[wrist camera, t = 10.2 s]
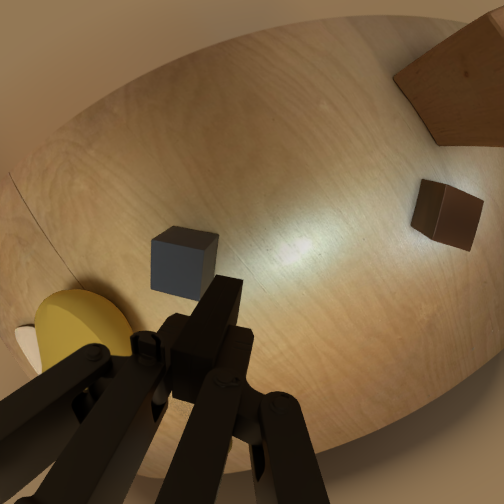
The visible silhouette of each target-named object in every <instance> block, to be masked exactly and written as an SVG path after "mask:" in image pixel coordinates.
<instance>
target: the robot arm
mask: <svg viewBox="0 0 504 504" xmlns="http://www.w3.org/2000/svg"><path fill="white" fill-rule="evenodd" d="M242 286H243V280H242V279H237V278H231V277H226V276H221V275H216V276H215V277H214V279H213V280H212V282H211V283H210V285H209V287H208V288H207V290H206V291H205V293H204V295H203V296H202V298H201V299H200V301H199V303H198V304H197V306H196V307H195V309H194V311H193V312H192V314H191V316H187V315H183V314H179V313H175V314H173V315H171V316H169V317H168V318H167V319H166V320H165V322H164V323H163V325H162V326H161V327H160V329H159V330H158V331H157V333H156V332H153V331H139V332H136V333H134V334H132V335H131V336H130V343H131V351H132V354H131V356H117V355H111V353H110V350H109V349H108V348H107V347H106V346H105V345H103V344H100V343H90V344H87V345H85V346H83V347H81V348H80V349H78V350H77V351H75V352H73V353H72V354H70V355H69V356H67V357H66V358H64V359H63V360H61V361H60V362H58V363H57V364H55V365H54V366H52V367H51V368H49V369H48V370H46V371H45V372H43V373H42V374H40V375H39V376H37V377H36V378H34V379H33V380H31V381H30V382H28V383H27V384H25V385H24V386H22V387H21V388H19V389H18V390H16V391H15V392H13V393H12V394H10V395H9V396H7V397H6V398H4V399H3V400H1V401H0V504H3V503H4V502H6V501H7V500H9V499H10V498H11V497H13V496H14V495H15V494H16V493H17V492H19V491H20V490H21V489H22V488H23V487H25V486H26V485H27V484H28V483H30V482H31V481H32V480H33V479H34V478H36V477H37V476H38V475H39V474H40V473H42V472H43V471H44V470H45V469H46V468H47V467H48V466H50V465H51V464H52V463H53V462H54V461H56V462H55V463H54V465H53V466H52V468H51V469H50V471H49V472H48V474H47V475H46V477H45V479H44V480H43V482H42V483H41V485H40V486H39V488H38V489H37V491H36V492H35V494H34V495H32V496H29V497H22V498H20V499H18V500H17V501H16V502H15V503H14V504H123V502H124V499H125V497H126V495H127V493H128V491H129V488H130V486H131V484H132V482H133V480H134V478H135V476H136V474H137V471H138V469H139V467H140V465H141V463H142V461H143V459H144V456H145V454H146V452H147V450H148V448H149V446H150V444H151V442H152V439H153V437H154V435H155V433H156V431H157V429H158V427H159V425H160V423H161V420H162V418H163V416H164V414H165V412H166V410H167V408H168V397H169V395H170V393H171V391H172V398H175V399H179V400H182V401H186V402H189V403H193V404H194V407H193V409H192V412H191V414H190V417H189V419H188V422H187V424H186V427H185V429H184V432H183V434H182V437H181V439H180V442H179V444H178V447H177V449H176V452H175V454H174V457H173V459H172V462H171V464H170V467H169V469H168V472H167V474H166V477H165V479H164V483H163V485H162V487H161V489H160V492H159V495H158V497H157V499H156V502H155V504H216V500H217V496H218V492H219V488H220V484H221V480H222V476H223V472H224V468H225V464H226V460H227V456H228V452H229V448H230V444H231V440H232V436H234V437H236V438H238V439H240V440H242V441H244V442H246V443H248V444H249V452H250V460H251V467H252V474H253V482H254V489H255V496H256V502H257V504H330V502H329V499H328V495H327V492H326V489H325V485H324V482H323V479H322V476H321V472H320V469H319V466H318V463H317V459H316V456H315V453H314V450H313V446H312V443H311V440H310V437H309V433H308V430H307V427H306V424H305V420H304V417H303V414H302V411H301V407H300V404H299V403H298V401H297V399H296V398H294V397H293V396H292V395H290V394H288V393H285V392H279V391H275V392H270V393H268V394H266V395H264V394H262V393H260V392H258V391H256V390H254V389H253V388H252V387H251V386H250V385H249V384H248V382H247V380H246V374H247V369H248V365H249V360H250V355H251V350H252V345H253V340H254V335H253V332H252V330H251V329H249V328H244V327H239V326H236V324H237V319H238V312H239V306H240V299H241V293H242ZM86 388H87V389H86Z"/></svg>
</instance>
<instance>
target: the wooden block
mask: <svg viewBox="0 0 504 504" xmlns="http://www.w3.org/2000/svg"><path fill="white" fill-rule="evenodd" d="M394 81H395V82H396V83H397V85H398V86H399V87H400V88H401V90H402V91H403V92H404V94H405V95H406V97H407V98H408V99H409V101H410V102H411V103H412V105H413V106H414V108H415V109H416V111H417V112H418V114H419V115H420V117H421V118H422V120H423V121H424V123H425V124H426V126H427V128H428V129H429V131H430V132H431V134H432V136H433V137H434V139H435V141H436V142H437V144H438V145H439V146H487V147H504V6H502V7H499V8H497V9H495V10H492V11H490V12H488V13H486V14H484V15H483V16H481V17H479V18H478V19H476V20H475V21H473V22H472V23H470V24H468V25H467V26H465V27H464V28H462V29H460V30H459V31H457V32H456V33H454V34H453V35H451V36H450V37H448V38H447V39H445V40H444V41H442V42H441V43H439V44H438V45H436V46H435V47H434V48H432V49H431V50H429V51H428V52H426V53H425V54H424V55H422V56H421V57H419V58H418V59H416V60H415V61H414V62H412V63H411V64H410V65H408V66H407V67H405V68H404V69H403V70H401V71H400V72H399V73H397V74H396V75H395V76H394Z"/></svg>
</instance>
